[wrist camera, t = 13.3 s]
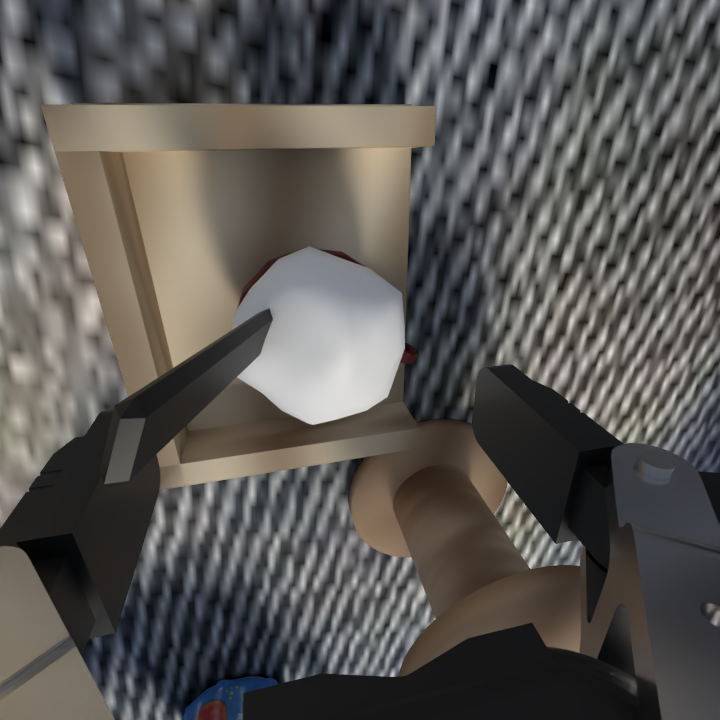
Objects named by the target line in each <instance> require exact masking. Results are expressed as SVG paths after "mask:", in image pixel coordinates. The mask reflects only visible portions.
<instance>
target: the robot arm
mask: <svg viewBox="0 0 720 720" xmlns="http://www.w3.org/2000/svg"><path fill="white" fill-rule="evenodd" d="M113 411H114V410H110V411H102V412H101V413H99V415H98V416H97V418H96V419H95V421H94V422H93V424H92V426H91V427H90V429H89V430H88V432H87V433H86V435H85V436H84V437H76V438H74V439H73V440H71V441H70V442H69V443H67V444H66V445H65V446H64V447H62V448H61V449H60V450H58V451H57V452H56V453H54V454H53V455H52V457H51V458H50V460H49V461H48V462H47V464H46V465H45V467H44V468H43V469H42V471H41V472H40V474H41V475H40V476H37V478H36V479H35V481H34V482H33V483H32V485H31V486H30V488H29V492H26V493H25V495H24V496H23V498H22V499H21V500H20V502H19V503H18V505H17V506H16V507H15V509H14V510H13V512H12V513H11V514H10V516H9V517H8V519H7V520H6V521H5V523H4V524H3V526H2V527H1V528H0V720H115V719H114V717H113V715H112V713H111V711H110V709H109V708H108V706H107V704H106V702H105V700H104V698H103V696H102V694H101V692H100V691H99V689H98V687H97V685H96V683H95V681H94V679H93V677H92V675H91V673H90V672H89V670H88V668H87V666H86V664H85V662H84V660H83V658H82V656H83V654H84V651H85V648H86V645H87V643H88V640H89V638H94V637H99V636H104V635H109V634H114V633H116V629H117V626H118V623H119V620H120V616H121V613H122V610H123V607H124V603H125V600H126V597H127V594H128V591H129V587H130V584H131V581H132V578H133V574H134V571H135V568H136V565H137V561H138V558H139V555H140V552H141V548H142V545H143V542H144V539H145V536H146V532H147V529H148V526H149V523H150V519H151V516H152V513H153V510H154V506H155V503H156V500H157V497H158V494H159V489H160V466H159V462H158V458H157V455H155V456H154V457H153V458H152V459H151V460H150V461H149V462H148V463H147V464H146V465H145V466H144V467H143V468H142V469H141V470H140V471H139V472H138V473H137V474H136V475H135V476H134V477H132V478H131V479H130V480H129V481H127V482H124V483H121V484H119V485H116V486H113V487H110V486H107V485H105V484H104V482H103V479H102V475H101V472H100V466H101V462H102V458H103V453H104V449H105V445H106V441H107V437H108V432H109V428H110V424H111V420H112V416H113ZM472 426H473V432H474V436H475V438H476V441H477V442H478V444H479V445H480V447H481V448H482V449H483V451H484V452H485V453H486V454H487V456H488V457H489V458H490V460H491V461H492V462H493V463H494V465H495V466H496V467H497V469H498V470H499V471H500V473H501V474H502V475H503V476H504V478H505V479H506V480H507V482H508V483H509V484H510V485H511V487H512V488H513V489H514V491H515V492H516V493H517V494H518V496H519V497H520V498H521V500H522V501H523V502H524V503H525V505H526V506H527V507H528V509H529V510H530V511H531V513H532V514H533V515H534V516H535V518H536V519H537V520H538V522H539V523H540V524H541V525H542V527H543V528H544V529H545V531H546V532H547V533H548V534H549V536H550V537H551V538H552V540H553V541H554V542H555V543H556V544H557V543H562V542H567V541H572V540H577V539H579V540H580V542H581V543H582V544H583V545H584V546H583V549H582V553H581V557H580V592H581V639H580V649H579V653H578V652H575V651H571V650H567V649H561V648H556V647H547V646H546V645H545V643H544V642H543V640H542V638H541V636H540V635H539V633H538V631H537V630H536V628H535V626H534V625H533V623H528V624H524V625H520V626H516V627H512V628H508V629H504V630H499V631H495V632H491V633H487V634H483V635H479V636H475V637H471V638H467V639H466V640H464V641H463V642H461V643H459V644H458V645H456V646H454V647H453V648H451V649H449V650H448V651H446V652H445V653H443V654H441V655H440V656H438V657H436V658H435V659H433V660H431V661H430V662H428V663H426V664H425V665H423V666H422V667H420V668H418V669H417V670H415V671H413V672H412V673H410V674H408V675H406V676H402V677H381V676H360V675H338V674H319V675H314V676H310V677H306V678H302V679H298V680H294V681H290V682H286V683H282V684H277V685H273V686H269V687H265V688H261V689H257V690H253V691H249V692H245V693H243V720H720V473H712V472H698V471H697V470H696V469H695V468H694V467H693V466H692V465H691V464H690V463H688V462H687V461H686V460H684V459H683V458H681V457H679V456H677V455H675V454H673V453H671V452H669V451H667V450H664V449H661V448H658V447H655V446H651V445H646V444H638V443H628V444H623V443H622V442H620V441H619V440H618V439H617V438H615V437H614V436H613V435H611V434H610V433H609V432H607V431H606V430H605V429H604V428H602V427H601V426H600V425H598V424H597V423H596V422H595V421H593V420H592V419H591V418H589V417H588V416H587V415H586V414H584V413H580V410H579V409H578V408H576V407H575V406H574V405H573V404H571V403H568V401H567V400H566V399H565V398H564V397H562V396H561V395H560V394H558V393H557V392H556V391H554V390H553V389H551V388H549V387H546V386H544V385H542V384H540V383H537V382H535V381H532V380H531V379H530V378H529V377H527V376H526V375H525V374H524V373H522V372H521V371H520V370H519V369H517V368H516V367H515V366H513V365H501V366H493V367H484V368H482V369H480V371H479V373H478V376H477V384H476V392H475V401H474V410H473V418H472Z"/></svg>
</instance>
